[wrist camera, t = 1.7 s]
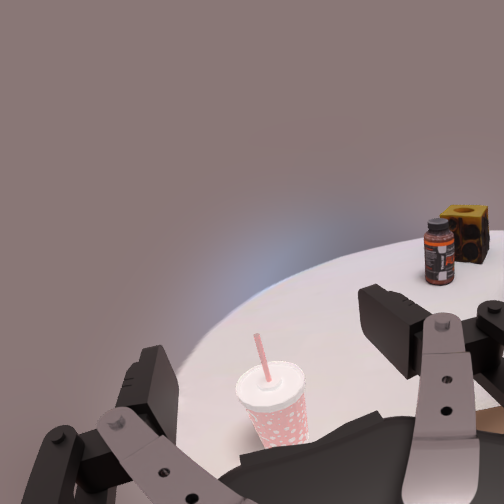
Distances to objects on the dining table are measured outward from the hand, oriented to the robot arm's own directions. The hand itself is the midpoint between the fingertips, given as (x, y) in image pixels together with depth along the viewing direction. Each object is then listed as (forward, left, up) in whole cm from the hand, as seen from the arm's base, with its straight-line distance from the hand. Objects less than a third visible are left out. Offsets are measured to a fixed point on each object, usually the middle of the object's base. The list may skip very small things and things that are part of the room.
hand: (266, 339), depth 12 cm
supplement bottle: (-46, +16, -20) cm, 52 cm away
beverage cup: (-10, -5, -20) cm, 23 cm away
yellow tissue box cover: (-57, +25, -20) cm, 65 cm away
